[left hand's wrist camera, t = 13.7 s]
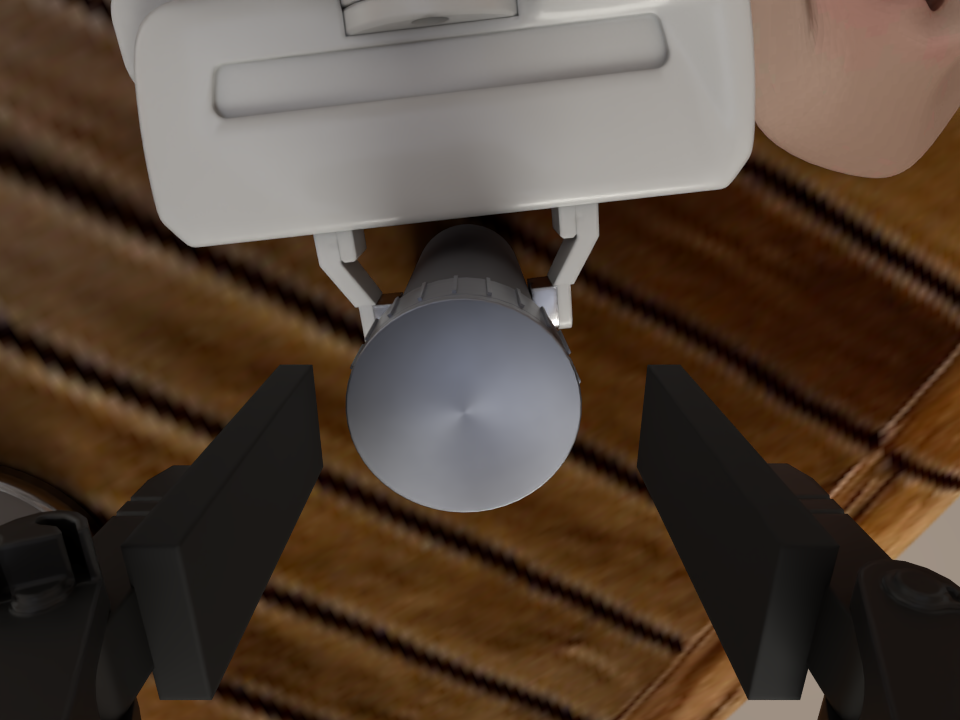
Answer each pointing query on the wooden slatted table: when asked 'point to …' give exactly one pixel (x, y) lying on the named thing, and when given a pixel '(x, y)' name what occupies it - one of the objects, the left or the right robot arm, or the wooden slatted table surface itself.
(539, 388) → the lid
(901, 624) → the left robot arm
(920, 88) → the anatomical model
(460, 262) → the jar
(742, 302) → the wooden slatted table surface
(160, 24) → the right robot arm
